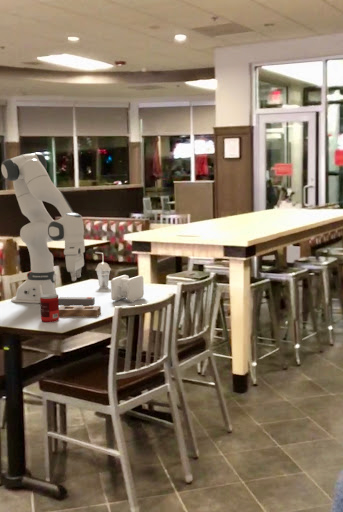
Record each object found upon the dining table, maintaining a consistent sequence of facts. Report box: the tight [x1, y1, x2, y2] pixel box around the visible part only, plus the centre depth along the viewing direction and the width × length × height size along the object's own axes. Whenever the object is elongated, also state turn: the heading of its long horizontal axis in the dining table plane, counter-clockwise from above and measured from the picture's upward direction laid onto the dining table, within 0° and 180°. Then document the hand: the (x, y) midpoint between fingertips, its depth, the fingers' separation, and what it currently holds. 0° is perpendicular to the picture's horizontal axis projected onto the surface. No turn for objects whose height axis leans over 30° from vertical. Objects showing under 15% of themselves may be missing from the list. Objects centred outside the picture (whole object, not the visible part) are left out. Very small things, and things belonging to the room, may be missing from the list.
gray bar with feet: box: [58, 296, 96, 306], centre depth 314 cm, size 16×4×6 cm, turn 85°
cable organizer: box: [110, 274, 145, 303], centre depth 336 cm, size 15×11×12 cm
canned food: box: [39, 293, 60, 323], centre depth 294 cm, size 8×8×11 cm
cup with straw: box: [94, 251, 112, 289], centre depth 369 cm, size 8×9×20 cm
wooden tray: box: [59, 305, 102, 318], centre depth 305 cm, size 18×8×3 cm, turn 85°
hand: (76, 278), depth 312 cm, fingers open, 8 cm apart
